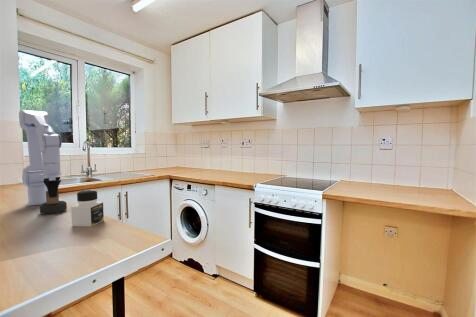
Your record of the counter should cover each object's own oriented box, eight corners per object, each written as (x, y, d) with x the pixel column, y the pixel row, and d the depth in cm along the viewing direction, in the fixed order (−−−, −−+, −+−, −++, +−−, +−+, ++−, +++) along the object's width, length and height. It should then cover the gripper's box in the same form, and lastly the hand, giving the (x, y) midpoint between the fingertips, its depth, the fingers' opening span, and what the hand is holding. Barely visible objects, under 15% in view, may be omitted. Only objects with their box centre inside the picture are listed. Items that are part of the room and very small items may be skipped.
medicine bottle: (91, 226, 80) (90, 192, 79) (71, 226, 80) (69, 192, 79) (104, 220, 87) (103, 188, 86) (85, 220, 87) (84, 188, 87)
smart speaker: (68, 212, 98) (68, 203, 97) (40, 216, 92) (40, 206, 91) (65, 208, 104) (64, 199, 104) (39, 212, 98) (38, 202, 98)
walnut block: (46, 202, 98) (46, 191, 97) (58, 201, 100) (58, 189, 100) (46, 204, 95) (45, 192, 94) (58, 203, 97) (58, 191, 97)
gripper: (39, 162, 100) (41, 193, 100) (38, 165, 88) (39, 200, 89) (60, 161, 104) (61, 191, 105) (61, 164, 93) (62, 197, 94)
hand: (53, 195), depth 97 cm, fingers open, 7 cm apart
